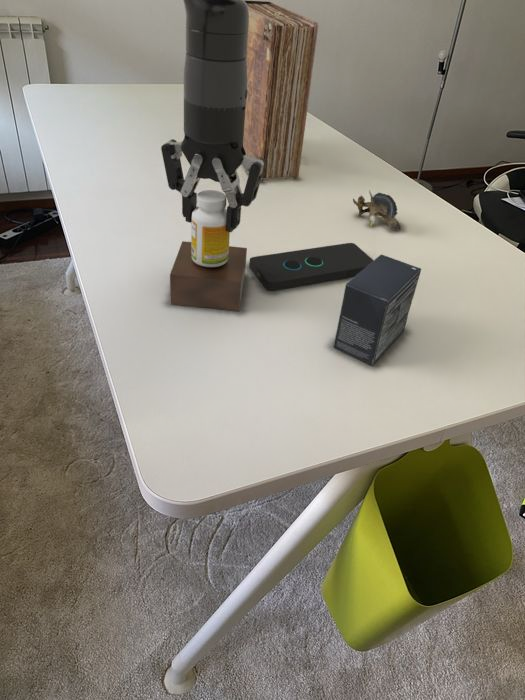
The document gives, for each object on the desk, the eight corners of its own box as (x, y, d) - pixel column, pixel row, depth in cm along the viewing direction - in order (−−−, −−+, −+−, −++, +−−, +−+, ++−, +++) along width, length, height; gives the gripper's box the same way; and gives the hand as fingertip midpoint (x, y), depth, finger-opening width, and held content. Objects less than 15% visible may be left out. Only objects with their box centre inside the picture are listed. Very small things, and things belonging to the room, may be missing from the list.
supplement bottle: (235, 258, 81) (239, 195, 75) (213, 272, 77) (216, 207, 71) (206, 246, 83) (207, 184, 77) (183, 259, 79) (183, 195, 73)
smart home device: (248, 256, 89) (352, 241, 96) (247, 265, 90) (350, 249, 97) (269, 282, 83) (379, 264, 91) (268, 292, 84) (376, 273, 92)
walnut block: (170, 304, 80) (169, 274, 77) (182, 269, 88) (182, 241, 84) (239, 311, 80) (241, 282, 77) (244, 275, 88) (247, 247, 84)
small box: (365, 313, 82) (380, 251, 76) (405, 331, 79) (424, 268, 73) (330, 347, 75) (343, 281, 69) (372, 367, 72) (391, 301, 66)
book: (298, 180, 121) (319, 23, 102) (259, 182, 118) (273, 21, 99) (258, 140, 139) (269, 1, 120) (223, 142, 136) (229, -1, 117)
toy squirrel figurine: (347, 220, 104) (393, 225, 100) (355, 182, 104) (402, 186, 100) (359, 229, 111) (403, 234, 107) (367, 193, 110) (411, 198, 106)
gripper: (146, 92, 65) (151, 224, 75) (261, 114, 62) (250, 248, 73) (174, 80, 71) (175, 204, 81) (280, 99, 68) (267, 225, 78)
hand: (211, 224), depth 77 cm, fingers closed on supplement bottle, 5 cm apart
